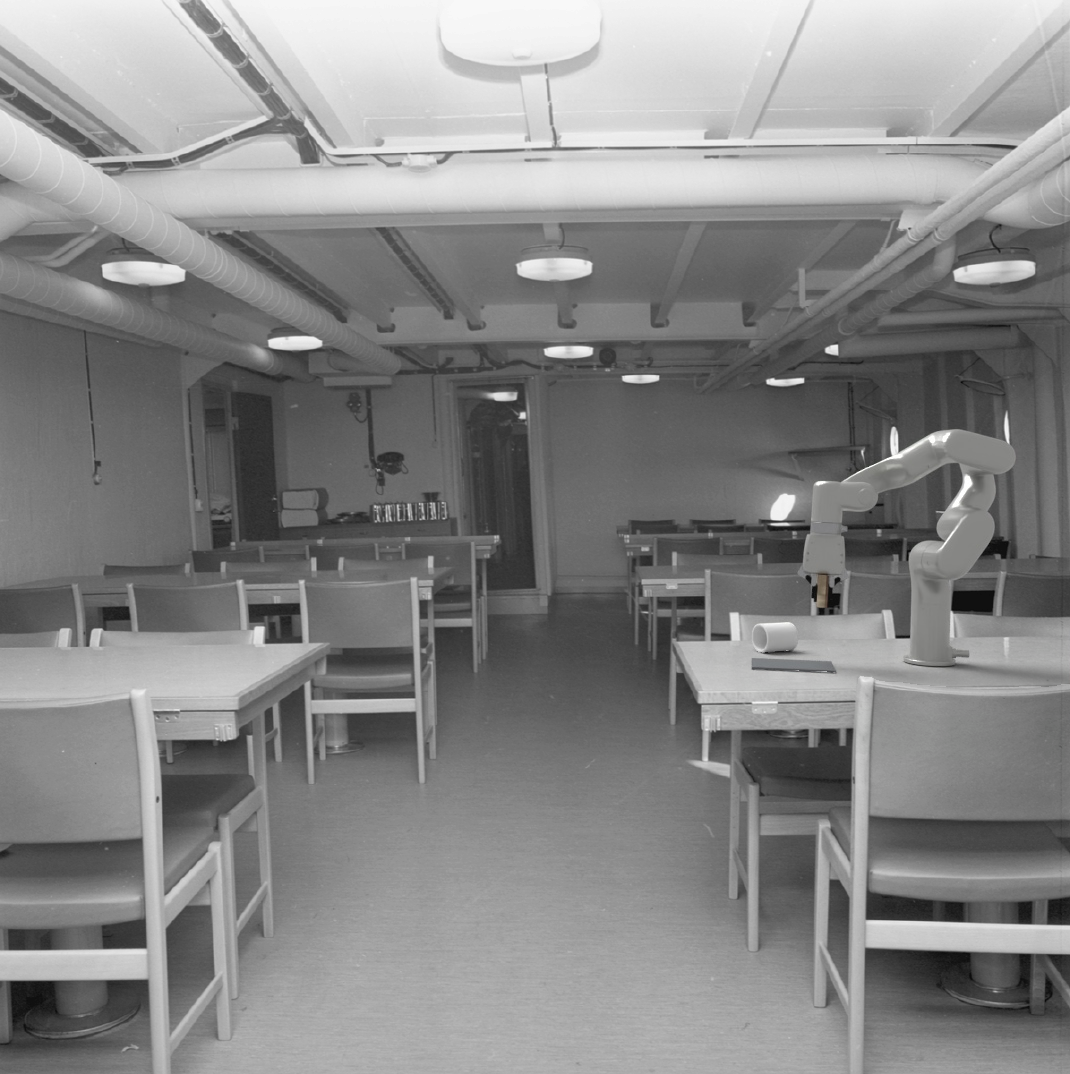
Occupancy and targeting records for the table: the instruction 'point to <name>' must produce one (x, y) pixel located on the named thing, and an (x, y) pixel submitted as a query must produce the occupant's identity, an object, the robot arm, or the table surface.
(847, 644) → the table surface
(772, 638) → the mug
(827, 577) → the tile
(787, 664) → the mat
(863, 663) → the table surface
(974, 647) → the table surface
